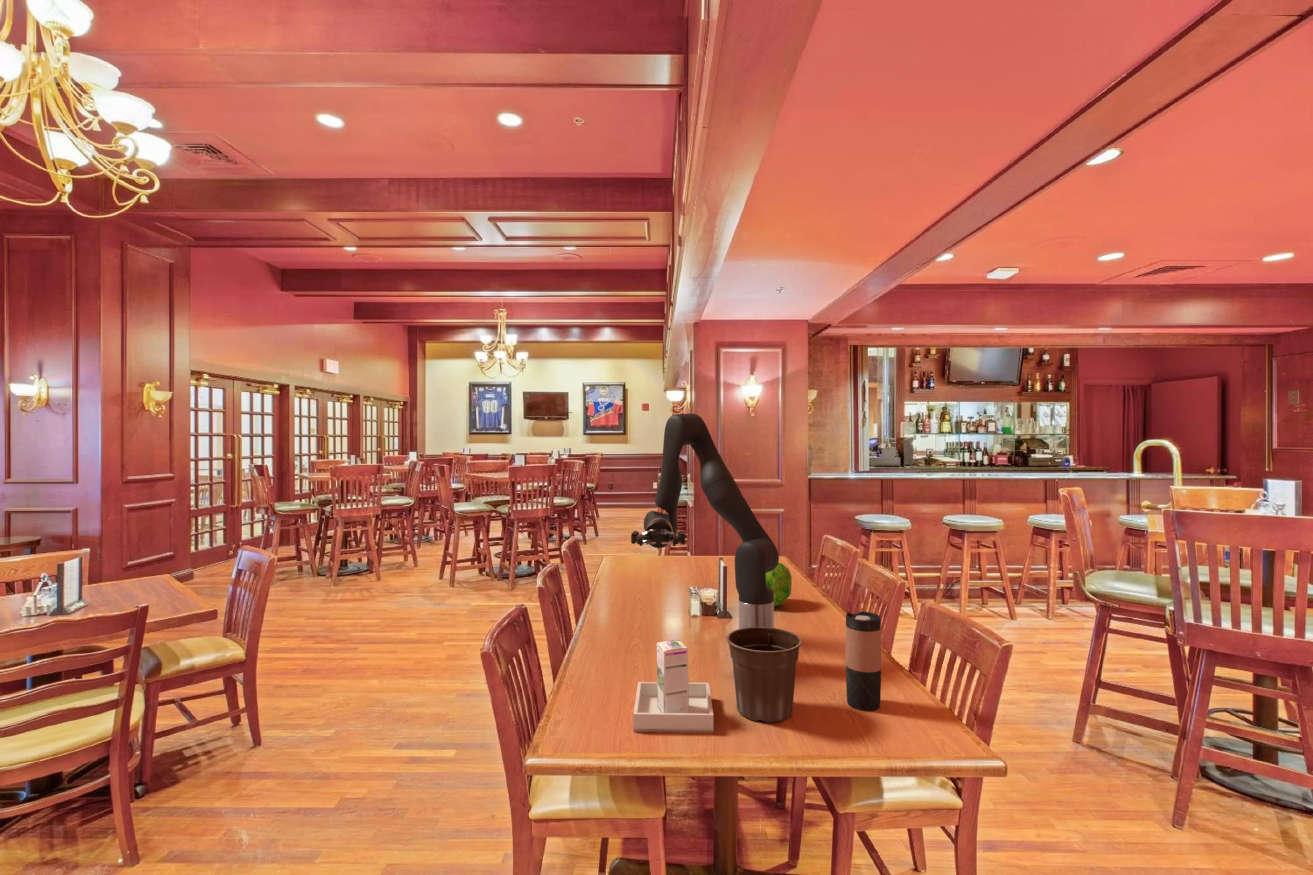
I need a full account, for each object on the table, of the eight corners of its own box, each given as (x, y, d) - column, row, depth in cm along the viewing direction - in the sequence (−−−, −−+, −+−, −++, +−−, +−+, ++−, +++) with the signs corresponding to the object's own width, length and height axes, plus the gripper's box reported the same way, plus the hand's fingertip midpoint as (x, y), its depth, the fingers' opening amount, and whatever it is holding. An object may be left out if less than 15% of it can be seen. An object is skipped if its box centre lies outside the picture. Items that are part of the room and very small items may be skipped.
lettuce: (778, 600, 228) (753, 566, 231) (810, 582, 213) (783, 546, 216) (751, 624, 217) (725, 588, 220) (783, 607, 202) (755, 568, 205)
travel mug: (877, 714, 130) (877, 622, 130) (841, 706, 134) (841, 617, 134) (884, 701, 136) (884, 614, 136) (850, 694, 140) (850, 609, 140)
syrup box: (689, 714, 129) (689, 647, 129) (663, 718, 127) (663, 650, 127) (681, 703, 134) (681, 638, 134) (656, 706, 132) (655, 641, 133)
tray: (708, 698, 138) (708, 682, 138) (713, 732, 122) (713, 714, 122) (638, 697, 139) (638, 681, 139) (633, 731, 122) (633, 714, 122)
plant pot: (765, 736, 120) (764, 656, 121) (712, 707, 133) (711, 635, 134) (817, 714, 130) (817, 640, 130) (763, 689, 143) (762, 622, 143)
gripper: (634, 518, 168) (629, 527, 152) (684, 518, 168) (685, 527, 152) (634, 545, 168) (629, 556, 152) (684, 545, 168) (685, 556, 152)
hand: (657, 541), depth 152 cm, fingers open, 8 cm apart
